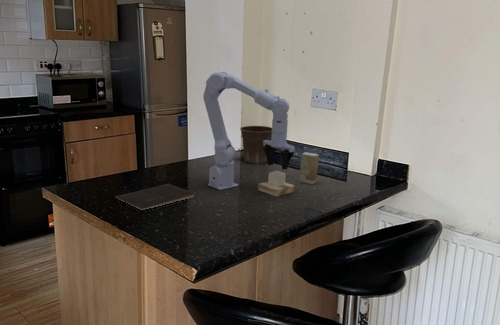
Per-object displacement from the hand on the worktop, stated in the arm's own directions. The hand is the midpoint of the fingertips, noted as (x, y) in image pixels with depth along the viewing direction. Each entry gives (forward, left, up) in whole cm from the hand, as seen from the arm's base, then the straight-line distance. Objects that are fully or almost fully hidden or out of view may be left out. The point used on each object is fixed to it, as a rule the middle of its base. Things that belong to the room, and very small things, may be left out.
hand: (277, 166), depth 171 cm
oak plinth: (0, 0, -10) cm, 10 cm away
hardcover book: (-42, +19, -10) cm, 47 cm away
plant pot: (+26, +39, -10) cm, 48 cm away
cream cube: (0, 0, -7) cm, 7 cm away
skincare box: (+19, 0, -10) cm, 21 cm away
